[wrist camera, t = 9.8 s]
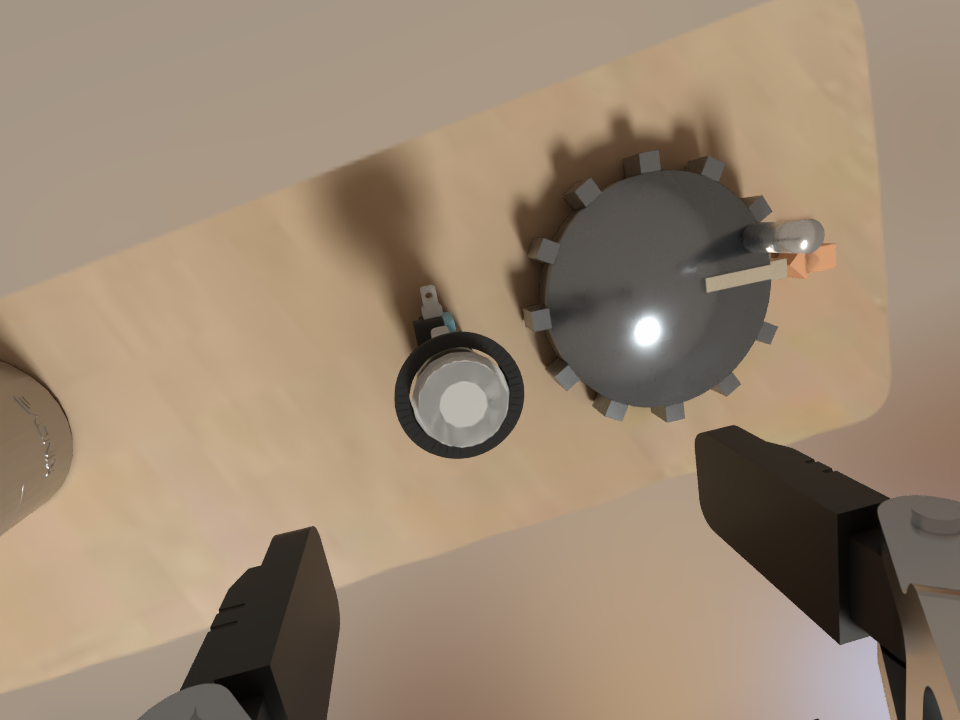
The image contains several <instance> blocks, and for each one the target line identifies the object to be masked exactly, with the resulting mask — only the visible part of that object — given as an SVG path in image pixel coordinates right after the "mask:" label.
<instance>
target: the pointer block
mask: <svg viewBox="0 0 960 720" xmlns="http://www.w3.org/2000/svg"><path fill="white" fill-rule="evenodd" d="M777 258H787V277H792V278H804V279H806V278H807V276H808V275H809V274H810V273H812V272H816V271H821V270H826V269H831V268H835V267H836V244H822V245H821V246H820V247H819V248H818V249H817V250H816V251H815V252H813V253H809V254H801V253H780V254H779V255H778V257H777Z"/></svg>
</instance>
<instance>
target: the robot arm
mask: <svg viewBox="0 0 960 720" xmlns="http://www.w3.org/2000/svg"><path fill="white" fill-rule="evenodd" d="M695 455H696V466H697V476H698V489H699V500H700V505H701V509H702V512H703V515H704V517H705V519H706V521H707V523H708V524H709V526H710V527H711V529H712V530H713V531H714V532H715V533H716V534H717V535H719V536H720V537H721V538H722V539H723V540H724V541H725V542H726V543H727V544H728V545H730V546H731V547H732V548H733V549H734V550H735V551H736V552H737V553H738V554H740V555H741V556H742V557H743V558H744V559H745V560H747V562H749V563H750V564H751V565H752V566H753V567H754V568H755V569H756V570H757V571H758V572H760V573H761V574H762V575H763V576H764V577H765V578H766V579H767V580H769V581H770V582H771V583H772V584H773V585H774V586H775V587H776V588H777V589H779V590H780V591H781V592H782V593H783V594H784V595H785V596H786V597H787V598H788V599H790V600H791V601H792V602H793V603H794V604H795V605H796V606H797V607H798V608H799V609H801V610H802V611H803V612H804V613H805V614H806V615H807V616H808V617H809V618H811V619H812V620H813V621H814V622H815V623H816V624H817V625H818V626H819V627H821V628H822V629H823V630H824V631H825V632H826V633H827V634H828V635H829V636H831V637H832V638H833V639H834V640H835V641H836V642H837V643H838V644H839V645H842V644H845V643H848V642H851V641H855V640H858V639H861V638H865V637H868V636H871V637H873V638H874V639H875V640H876V641H877V647H878V648H877V649H878V650H877V651H878V653H877V655H878V665H879V669H880V674H881V678H882V683H883V687H884V692H885V697H886V701H887V705H888V710H889V715H890V719H891V720H960V502H958V501H954V500H950V499H945V498H939V497H934V496H933V497H932V496H918V495H912V496H900V497H896V498H891V499H890V498H888V497H886V496H885V495H883V494H881V493H879V492H877V491H875V490H873V489H871V488H869V487H867V486H865V485H863V484H861V483H859V482H857V481H855V480H853V479H851V478H850V477H847V476H846V475H843V474H842V473H840V472H838V471H834V472H833V471H832V468H830V467H828V466H826V465H824V464H822V463H820V462H815V461H814V459H812V458H811V457H809V456H807V455H805V454H803V453H801V452H799V451H797V450H795V449H793V448H790V447H786V446H782V445H778V444H774V443H770V442H766V441H764V440H762V439H760V438H758V437H757V436H755V435H753V434H751V433H749V432H747V431H745V430H743V429H742V428H740V427H738V426H735V425H732V426H727V427H723V428H719V429H715V430H711V431H707V432H703V433H699V434H698V435H697V436H696V439H695ZM72 456H73V451H72V436H71V432H70V428H69V424H68V421H67V419H66V417H65V415H64V413H63V411H62V410H61V408H60V406H59V404H58V403H57V402H56V400H55V399H54V398H53V397H52V396H51V394H50V393H49V392H48V391H47V390H46V389H45V388H44V387H43V386H42V385H40V384H39V383H38V382H37V381H36V380H34V379H33V378H32V377H31V376H29V375H28V374H26V373H24V372H22V371H20V370H19V369H17V368H15V367H13V366H12V365H9V364H6V363H3V362H1V361H0V536H1V535H3V534H4V533H5V532H7V531H8V530H9V529H11V528H12V527H13V526H15V525H16V524H17V523H19V522H20V521H21V520H23V519H24V518H25V517H27V516H28V515H29V514H31V513H32V512H33V511H35V510H36V509H37V508H39V507H40V506H42V505H43V504H44V503H46V502H47V501H48V500H49V499H50V498H51V497H52V496H53V495H54V494H55V493H56V492H57V491H58V489H59V488H60V487H61V485H62V484H63V482H64V480H65V478H66V476H67V474H68V472H69V468H70V464H71V460H72ZM210 629H211V631H210V632H208V633H207V635H206V637H205V639H204V642H203V644H202V646H201V648H200V650H199V652H198V654H197V656H196V658H195V660H194V663H193V664H192V667H191V668H190V671H189V673H188V675H187V677H186V679H185V681H184V683H183V685H182V687H181V689H180V691H179V692H177V693H175V694H173V695H171V696H169V697H167V698H166V699H164V700H162V701H161V702H159V703H158V704H156V705H155V706H153V707H152V708H151V709H149V710H148V711H147V712H146V713H145V714H143V715H142V716H141V717H140V718H139V719H138V720H327V713H328V706H329V699H330V692H331V685H332V678H333V671H334V664H335V657H336V650H337V643H338V637H339V629H340V613H339V605H338V599H337V595H336V591H335V587H334V584H333V580H332V577H331V573H330V570H329V566H328V563H327V559H326V556H325V552H324V549H323V546H322V542H321V539H320V535H319V533H318V531H317V529H316V528H315V527H314V526H312V527H308V528H303V529H299V530H295V531H291V532H287V533H283V534H279V535H275V536H274V537H273V539H272V541H271V543H270V546H269V548H268V550H267V553H266V555H265V558H264V560H263V562H262V565H261V566H257V567H253V568H249V569H248V570H247V571H246V572H245V573H244V574H243V575H242V576H241V577H240V578H239V579H238V580H237V581H236V582H235V583H234V584H233V585H232V586H231V587H230V588H229V590H228V592H227V594H226V596H225V598H224V600H223V602H222V604H221V606H220V608H219V614H217V615H216V617H215V619H214V621H213V623H212V625H211V627H210ZM815 720H819V719H815Z"/></svg>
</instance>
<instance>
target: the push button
mask: <svg viewBox="0 0 960 720" xmlns="http://www.w3.org/2000/svg"><path fill="white" fill-rule="evenodd" d="M429 292H430V293H432V296H431V297H430V298H426V297H425V295H426V294H427V293H429ZM420 293H421V298H422V303H423V307H421V311H422V315H423V317H420V318H419V320H418V321H414V322H413V325H414V329H415V334H416V338H417V343H418V348H416V349H415V350H414V351H413V352H412V353H411V354H410V356H409V357H408V358H407V359H406V361H405V363H404V364H403V366H402V368H401V370H400V372H399V375H398V377H397V381H396V385H395V409H396V413H397V417H398V420H399V422H400V424H401V426H402V428H403V430H404V431H405V433H406V434H407V435H408V437H409V438H410V439H411V440H412V441H413V442H414V443H415V444H417V445H418V446H419V447H421V448H422V449H424V450H425V451H427V452H429V453H432V454H434V455H437V456H440V457H445V458H453V459H462V458H470V457H474V456H477V455H480V454H483V453H485V452H487V451H489V450H491V449H493V448H494V447H496V446H497V445H498V444H500V443H501V442H502V441H503V440H504V439H505V438H506V437H507V436H508V435H509V434H510V433H511V431H512V430H513V428H514V427H515V425H516V424H517V421H518V419H519V417H520V414H521V412H522V408H523V402H524V384H523V379H522V376H521V373H520V370H519V368H518V366H517V364H516V362H515V361H514V359H513V358H512V357H511V355H510V354H509V353H508V352H507V351H506V350H505V349H504V348H503V347H502V346H500V345H499V344H498V343H496V342H495V341H493V340H491V339H490V338H488V337H485V336H483V335H480V334H476V333H471V332H456V327H455V322H454V318H453V316H452V315H451V314H450V313H449V312H444V313H443V310H442V305H440V303H438V300H437V295H436V290H435V287H434V286H433V285H427V286H422V287H420ZM471 348H472V349H476V350H479V351H482V352H484V353H486V354H488V355H489V356H491V357H492V358H493V359H494V360H496V362H497V363H498V365H499V368H500V369H499V368H498V367H497V366H496V365H495V364H494V363H493V362H492V361H491V360H489V359H488V358H486V357H483V356H481V355H479V354H477V353H476V352H474V351H473V350H472V349H471ZM417 371H418V372H417ZM416 373H417V381H416V385H415V389H414V392H413V396H412V403H413V407H412V405H411V402H410V398H409V394H410V388H411V384H412V381H413V379H414V376H415V375H416ZM413 408H414V409H413Z"/></svg>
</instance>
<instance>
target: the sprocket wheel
mask: <svg viewBox="0 0 960 720" xmlns="http://www.w3.org/2000/svg"><path fill="white" fill-rule="evenodd" d="M623 164H624V173H625V178H626V179H623V180H619V181H617V182H615V183H612V184H610V185H607V186H605V187H604V188H602V189H599V188H598V186H597V185H596V184H595V182H594V181H593V180H592V178H591V177H590V178H587V179H584V180H582V181H579V182H577V183H576V184H575V185H574V186H573V187H571V188H570V189H569V190H568V191H567V192H566V193H565V194H563V196H564V197H565V199H566V200H567V201H568V203H569V204H570V205H571V207H572V208H573V209H575V210H574V211H573V212H572V213H571V214H570V215H569V216H568V217H567V219H566V220H565V221H564V223H563V224H562V225H561V227H560V228H559V230H558V232H557V233H556V235H555V237H554V238H553V240H552V241H550V240H547V239H545V238H534V239H533V242H532V245H531V247H530V250H529V253H528V256H527V258H530V259H533V260H535V261H538V262H541V263H544V264H543V268H542V273H541V280H540V292H539V301H540V304H538V305H533V306H528V307H523V308H522V309H523V315H524V321H525V327H527V328H529V329H530V330H532V331H533V332H537V331H541V330H545V332H546V335H547V338H548V340H549V342H550V344H551V346H552V348H553V350H554V352H555V354H556V355H557V356H558V358H557V359H555V360H554V361H553V362H552V363H551V364H550V365H549V366H547V367H546V368H545V370H546V371H547V372H548V373H549V374H550V375H551V377H552V378H553V379H554V380H555V381H556V382H557V383H558V384H559V385H560V386H561V387H562V388H564V389H565V390H566V391H567V390H569V389H570V388H571V387H572V386H573V385H574V384H575V383H577V382H578V381H579V380H581V381H582V382H584V383H585V384H586V385H588V386H589V387H590V388H592V389H593V390H594V391H596V392H598V393H597V395H596V398H595V401H594V403H593V407H594V408H595V409H597V410H598V411H599V412H600V413H601V414H603V415H604V416H605V417H609V418H612V419H615V420H618V421H622V420H623V417H624V415H625V412H626V410H627V408H628V405H631V406H637V407H651V412H652V413H653V414H655V415H656V416H658V417H659V418H661V419H662V420H664V421H666V422H667V423H668V422H672V421H676V420H680V419H685V415H684V405H683V402H685V401H688V400H690V399H692V398H695V397H697V396H699V395H701V394H703V393H705V392H706V391H708V390H710V389H711V390H714V391H716V392H718V393H720V394H722V395H724V396H728V395H729V394H730V393H731V392H733V391H734V390H735V389H736V388H737V387H738V386H740V385H741V384H740V382H739V381H738V379H737V378H736V377H735V375H734V374H733V373H732V371H733V370H734V369H735V368H736V367H737V366H738V364H739V363H740V362H741V361H742V360H743V358H744V357H745V356H746V354H747V353H748V351H749V350H750V348H751V347H752V345H753V343H754V341H759V342H763V343H766V344H771V342H772V339H773V337H774V335H775V332H776V330H777V328H778V327H777V326H775V325H772V324H769V323H767V322H764V318H765V315H766V311H767V307H768V303H769V296H770V289H771V281H774V280H779V279H784V278H787V258H769V254H768V253H801V254H809V253H813V252H815V251H816V250H817V249H818V248H819V247H820V246H821V245H822V243H823V240H824V229H823V226H822V225H821V223H820V222H818V221H817V220H812V219H811V220H794V221H777V222H761V221H762V220H763V219H764V218H765V217H767V216H768V215H769V214H770V213H771V212H772V210H771V208H770V207H769V205H768V204H767V202H766V201H765V199H764V197H763V196H762V195H761V196H754V197H746V198H738V197H737V196H736V195H735V194H734V193H733V192H731V191H730V190H729V189H727V188H726V187H725V186H723V185H722V184H720V183H718V182H719V180H720V177H721V175H722V172H723V170H724V167H725V165H726V163H724V162H722V161H719V160H717V159H715V158H713V157H710V156H706V157H702V158H699V159H695V160H692V161H688V164H687V166H686V169H685V171H678V170H662V171H659V170H661V166H660V155H659V150H656V151H650V152H644V153H639V154H636V155H634V156H631V157H628V158H626V159H623ZM629 177H630V178H629Z"/></svg>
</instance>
